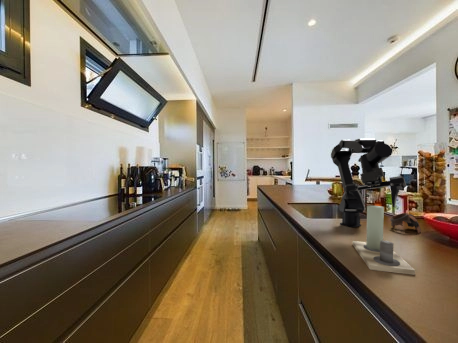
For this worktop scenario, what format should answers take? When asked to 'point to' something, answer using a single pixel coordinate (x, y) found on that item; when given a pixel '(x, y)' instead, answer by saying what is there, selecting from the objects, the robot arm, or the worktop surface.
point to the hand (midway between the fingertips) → (378, 208)
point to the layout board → (379, 266)
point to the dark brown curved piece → (406, 218)
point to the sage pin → (374, 227)
